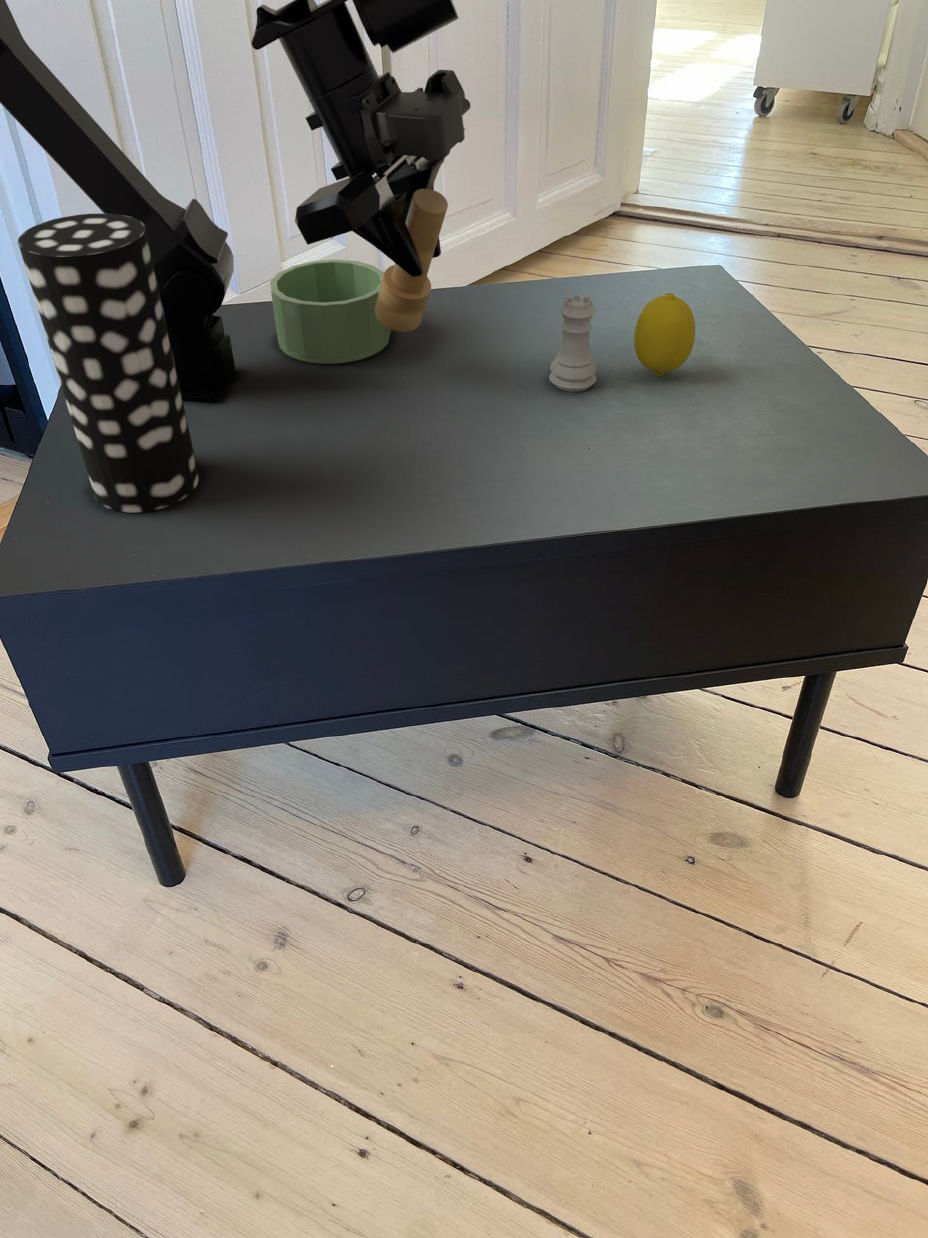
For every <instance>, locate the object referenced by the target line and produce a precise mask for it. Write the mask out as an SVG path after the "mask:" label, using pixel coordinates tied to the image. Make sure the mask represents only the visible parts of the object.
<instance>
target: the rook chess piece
mask: <svg viewBox="0 0 928 1238" xmlns="http://www.w3.org/2000/svg"><path fill="white" fill-rule="evenodd" d="M559 313H560V314H561V316H562V317H563V322H562V324H561V325H560V327H561V329H562V337H561V342H560V348H559V350H558V352H557V354H555V359H554V360H553V361H552V362H551V365H550V373H549V376H548V377H549V381H550V382H551V383H552V385H553V386H554V387H555V388H556V389H558V390H560V391H563V392H564V391H565V392H569V393H573V392H574V393H576V392H578V393H579V392H583V391H586V390H588V389H590V388H591V387H592V386H593V385H594V384H595V383H596V381H597V376H596V372H597V367H596V366H597V365H596V362H594V361H593V360H594V359H593V355H591V352H590V349H591V348H590V331H591V330H592V329H593V326H592V324H591V319H592V318H593V316H595V314H596V313H597V311H596V308H595V306H594V305H593V299H592V298H590V296H588V295H584V296H583V299H581V294H574V299H573V297H572V295H567V296H565V298H564V300H563V304H562V305H561V307H560V308H559Z"/></svg>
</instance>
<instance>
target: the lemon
mask: <svg viewBox="0 0 928 1238" xmlns="http://www.w3.org/2000/svg"><path fill="white" fill-rule="evenodd" d="M634 328H635V329H634V334H633V335H634V336H633V341H634V342H633V344H634V345H633V346H634V350H635V354H636V356H637V359H638V360H639V362H640V363H641V364H642V366H644V367H645V368H646V369H648V370H650V371H652V372H653V373H654V374H655V375H656V376H658V377H661V376H664V375H665V374H666V373H668V372H669V373H670V372H672V371H674V370H677V369H678V368H680V367H681V366H682V365H683V364H684V363H685V362H686V361H687V359H688V358H689V357H690V355H691V353H692V350H693V347H694V343H695V338H696V322H695V316H694V313H693V311H692V309H691V307H690V305H689V304H687V302H686V301H684V300H683V299H682V298H681V297H678V296H676V295H675V294H674V293H672V292H666V293H665V294H664V295H661V296H658V297H656V298H653V299H652V300H651V301H649V302H648V303H647V304H646V305H645V306H644V307H643V309H642V310H641V312H640V314H639V316H638V318H637V321H636V324H635V327H634Z"/></svg>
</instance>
